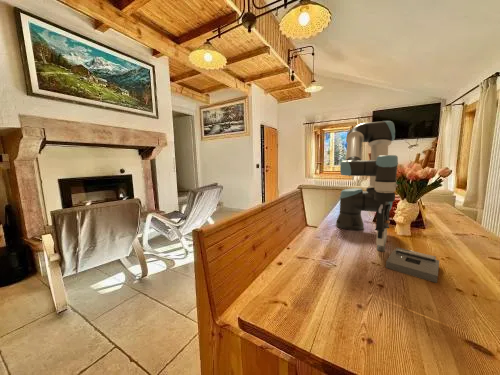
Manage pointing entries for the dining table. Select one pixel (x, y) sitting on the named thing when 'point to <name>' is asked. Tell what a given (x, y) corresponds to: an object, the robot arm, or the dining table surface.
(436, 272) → the grey flat square block
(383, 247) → the key
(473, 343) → the dining table surface
